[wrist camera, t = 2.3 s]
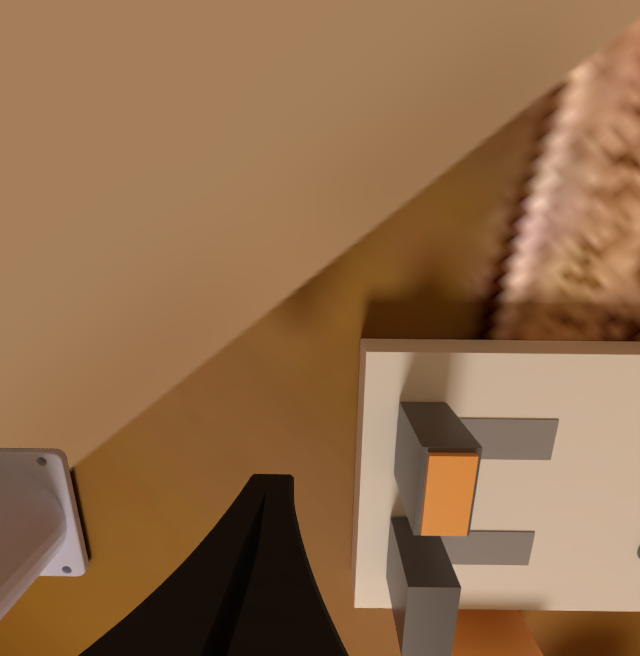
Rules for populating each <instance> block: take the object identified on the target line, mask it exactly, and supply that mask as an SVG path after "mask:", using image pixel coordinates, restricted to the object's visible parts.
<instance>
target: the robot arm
mask: <svg viewBox="0 0 640 656" xmlns="http://www.w3.org/2000/svg"><path fill="white" fill-rule="evenodd" d="M44 458H45V459H46V460H45V459H44ZM88 567H89V562H88V557H87V552H86V547H85V543H84V538H83V533H82V528H81V524H80V519H79V514H78V509H77V505H76V500H75V495H74V490H73V486H72V481H71V476H70V471H69V466H68V462H67V457H66V455H65V453H64V452H63V451H61V450H59V449H34V448H26V449H25V448H0V620H1V619H2V618H3V617H4V615H5V614H6V613H7V612H8V611H9V610H10V608H11V607H12V606H13V605H14V604H15V603H16V601H17V600H18V599H19V598H20V597H21V596H22V595H23V593H24V592H25V591H26V590H27V589H28V588H29V586H30V585H31V584H32V583H33V582H34V581H35V579H36V578H37V577H38V576H81V575H83V574H84V573H85V572H86V570H87V569H88ZM78 656H349V655H348V653H347V651H346V649H345V647H344V645H343V643H342V641H341V639H340V637H339V635H338V633H337V630H336V628H335V626H334V624H333V622H332V619H331V617H330V615H329V613H328V611H327V609H326V606H325V604H324V601H323V599H322V597H321V594H320V592H319V589H318V587H317V584H316V581H315V578H314V576H313V573H312V570H311V567H310V564H309V561H308V558H307V555H306V552H305V548H304V545H303V542H302V538H301V534H300V530H299V525H298V521H297V516H296V511H295V505H294V477H292V476H291V475H285V474H254V475H252V476H251V477H250V479H249V480H248V482H247V483H246V485H245V486H244V488H243V489H242V491H241V492H240V494H239V495H238V497H237V498H236V499H235V501H234V502H233V503H232V505H231V506H230V507H229V509H228V510H227V511H226V513H225V514H224V515H223V516H222V518H221V519H220V520H219V522H218V523H217V524H216V525H215V527H214V528H213V529H212V530H211V531H210V533H209V534H208V535H207V536H206V537H205V538H204V540H203V541H202V542H201V543H200V544H199V545H198V547H197V548H196V549H195V550H194V551H193V552H192V553H191V554H190V556H189V557H188V558H187V559H186V560H185V561H184V562H183V563H182V564H181V565H180V566H179V567H178V568H177V569H176V570H175V571H174V572H173V573H172V574H171V575H170V576H169V577H168V578H167V579H166V580H165V581H164V582H163V583H162V584H161V585H160V586H159V587H158V588H157V589H156V590H155V591H154V592H153V593H152V594H150V595H149V596H148V597H147V598H146V599H145V600H144V601H143V602H142V603H141V604H140V605H139V606H138V607H136V608H135V609H134V610H133V611H132V612H131V613H130V614H128V615H127V616H126V617H125V618H124V619H123V620H121V621H120V622H119V623H118V624H117V625H115V626H114V627H113V628H112V629H110V630H109V631H108V632H107V633H106V634H104V635H103V636H102V637H101V638H99V639H98V640H97V641H96V642H95V643H93V644H92V645H91V646H90V647H89V648H87V649H86V650H85V651H83V652H82V653H81V654H80V655H78Z"/></svg>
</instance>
